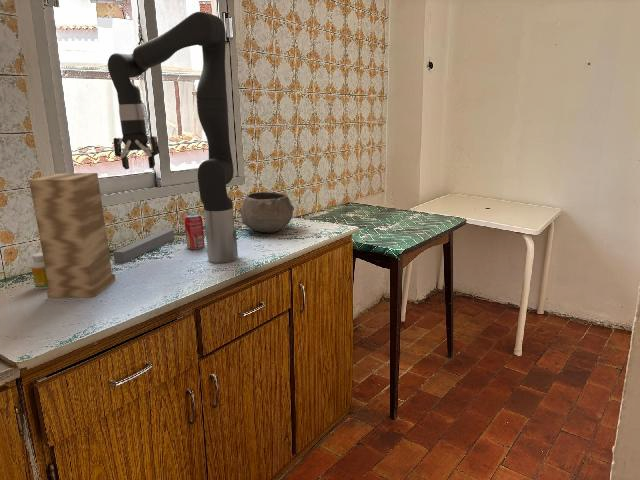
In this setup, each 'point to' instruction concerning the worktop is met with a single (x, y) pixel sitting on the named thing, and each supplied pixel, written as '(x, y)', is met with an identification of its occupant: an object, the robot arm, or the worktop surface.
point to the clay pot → (266, 211)
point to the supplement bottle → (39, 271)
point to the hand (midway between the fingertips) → (139, 168)
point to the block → (143, 246)
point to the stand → (72, 234)
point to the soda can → (194, 231)
